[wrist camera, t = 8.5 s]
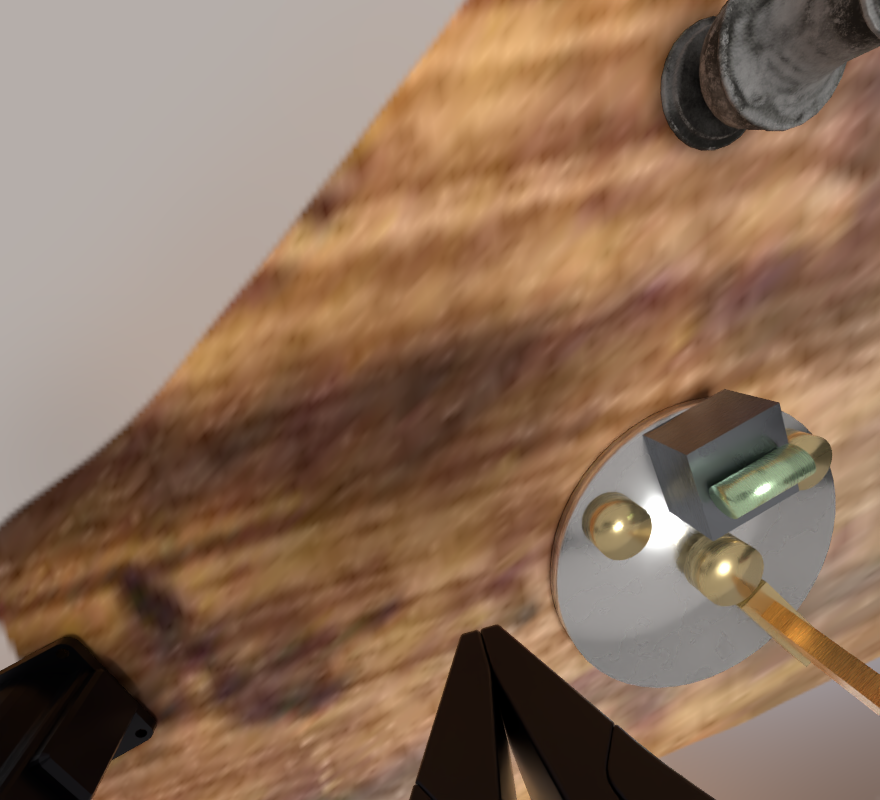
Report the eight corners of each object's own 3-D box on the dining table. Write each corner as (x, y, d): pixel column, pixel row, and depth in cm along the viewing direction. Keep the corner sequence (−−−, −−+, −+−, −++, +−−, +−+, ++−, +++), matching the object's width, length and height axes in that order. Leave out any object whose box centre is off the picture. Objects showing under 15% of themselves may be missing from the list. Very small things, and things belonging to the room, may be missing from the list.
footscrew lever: (672, 568, 24) (887, 747, 14) (716, 518, 24) (963, 668, 14) (778, 660, 28) (1007, 854, 18) (817, 618, 27) (1069, 791, 18)
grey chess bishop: (645, 148, 20) (1046, -49, 8) (667, -4, 19) (1177, -479, 7) (752, 165, 21) (1228, 11, 10) (779, 23, 20) (1367, -346, 8)
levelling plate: (608, 722, 28) (671, 823, 22) (501, 498, 22) (549, 561, 17) (838, 581, 29) (948, 645, 24) (787, 340, 24) (915, 352, 19)
